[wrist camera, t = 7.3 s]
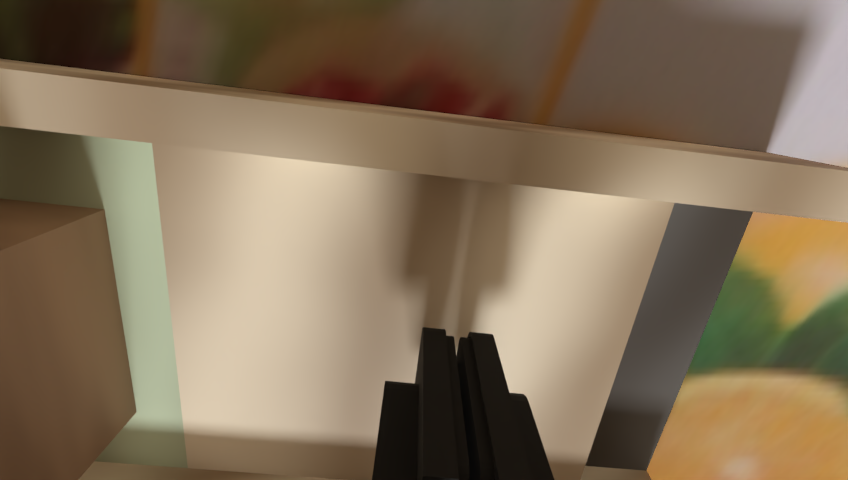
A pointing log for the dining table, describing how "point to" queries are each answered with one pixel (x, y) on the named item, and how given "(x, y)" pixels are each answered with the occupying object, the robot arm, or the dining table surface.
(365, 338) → the channel board
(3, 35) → the dining table surface
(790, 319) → the dining table surface
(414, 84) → the dining table surface
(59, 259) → the walnut block
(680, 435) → the dining table surface
